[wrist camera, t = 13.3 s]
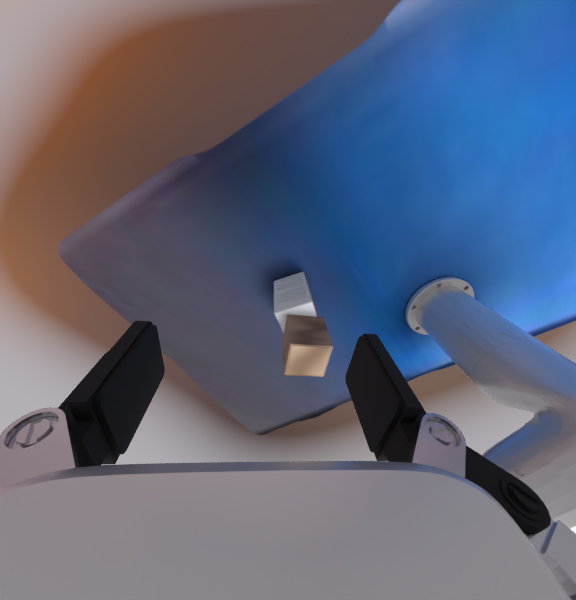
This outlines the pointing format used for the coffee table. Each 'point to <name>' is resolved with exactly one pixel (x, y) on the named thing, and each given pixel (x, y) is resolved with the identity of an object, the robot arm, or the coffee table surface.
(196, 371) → the coffee table surface
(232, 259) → the coffee table surface
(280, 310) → the small box
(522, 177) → the coffee table surface
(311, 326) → the walnut block
